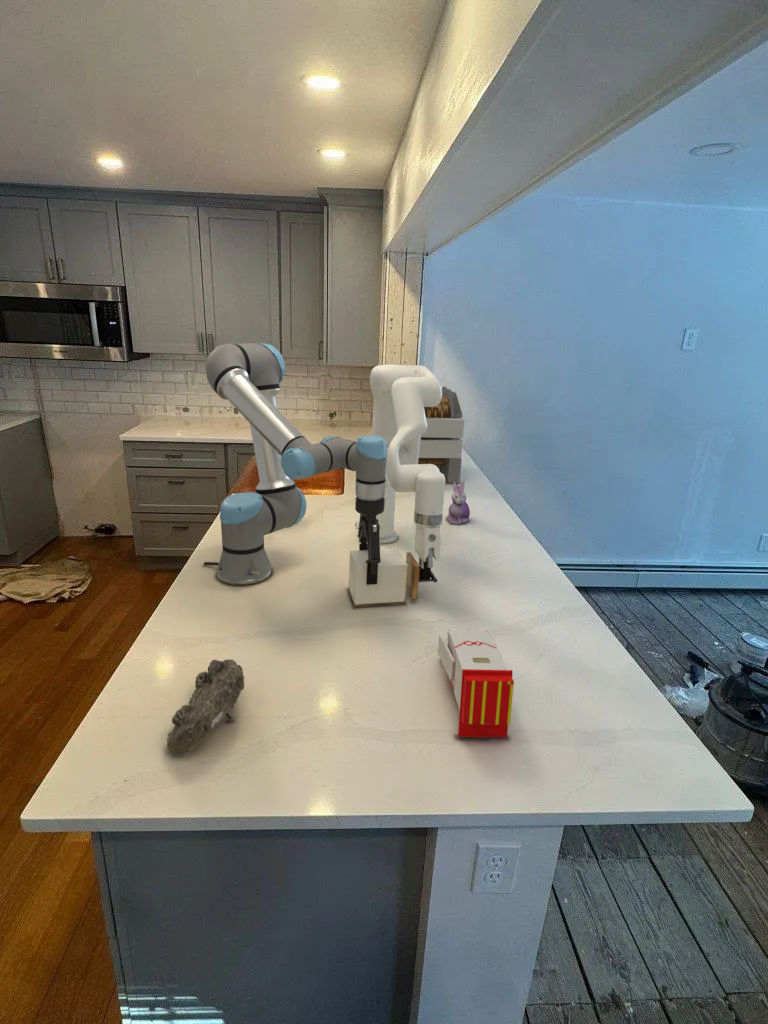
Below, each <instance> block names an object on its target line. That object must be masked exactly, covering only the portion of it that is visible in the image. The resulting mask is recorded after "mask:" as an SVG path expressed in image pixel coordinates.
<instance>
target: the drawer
mask: <svg viewBox="0 0 768 1024" xmlns="http://www.w3.org/2000/svg"><path fill="white" fill-rule="evenodd" d="M402 557H403V558H404V556H403V555H402ZM405 562H406V563H407V577H406V590H405V598H406V597H407V596H408V593H409V596H411V598H412V600H418V593H419V592H418V591H419V583H429V582H433V583H434V584H436V583H437V582H438V580H439V579H438V578H437V577H436V575H435V574H434V572H433V571H432V570H431V575H430V579H419V570H420V565H419V564H418V562H417V560H416V559H415V557H414V555H413V554H412V552H410V551H408V552H407V551H406V556H405Z"/></svg>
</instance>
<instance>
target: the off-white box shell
mask: <svg viewBox="0 0 768 1024" xmlns="http://www.w3.org/2000/svg"><path fill="white" fill-rule="evenodd" d="M402 556H403V555H402V553H401V552H400V550H399V548H383V549H382V548H380V560H381V561H380V563H378V577H377V584H372V585H367V584H366V583H367V563H366V560H368V550H359V549H355V550H353V549H352V550H349V565H348V587H347V588H348V592H349V594H350V597H351V600H352V604H353V606H354V608H355V609H356V608H369V607H385V606H386V607H387V606H399V605H401V606H402V605H405V602H406V597H405V590H406V577H407V563H406V559H404V556H403V557H402Z"/></svg>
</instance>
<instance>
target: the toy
mask: <svg viewBox="0 0 768 1024" xmlns="http://www.w3.org/2000/svg"><path fill="white" fill-rule="evenodd" d="M446 640H447V643H446V641H445V639H444V636H443V635H442V634H439V637H438V646H437V656H438V657H439V659H440V661H441V663H442V666H443V668H444V670H445V672H446V674H447V677H448V679H449V681H450V684H451V687H452V690H453V693H454V697H455V701H456V705H457V708H458V711H459V714H458V715H459V716H458V730H457V731H458V732H457V737H458V738H508V731H509V726H510V725H511V717H512V707H513V697H514V696H513V695H514V684H515V680H514V679H513V673H514V671H513V670H512V669H508V667H507V665H506V662H505V661H504V659H503V658H502V655H501V653H500V651H499V649H498V647H497V643H496V639H495V637H494V635H493V634H491V632H490V631H489V629H467V628H466V629H465V628H463V629H461V628H460V629H459V628H448V630H447V639H446Z"/></svg>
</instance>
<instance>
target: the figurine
mask: <svg viewBox="0 0 768 1024" xmlns="http://www.w3.org/2000/svg"><path fill="white" fill-rule="evenodd" d="M465 484H466V483H465V481H461V482H460V485H458V483H455V482H454V483H452V489H453V493H452V494H451V502H452V503H451V504H450V505H449V506H448V515H447V520H448V521H449V523H450V524H455V525H460V524H465V523H467V522H468V521H469V518H470V514H471V510H470V507H469V505H468V503H467V496H466V493H465Z"/></svg>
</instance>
